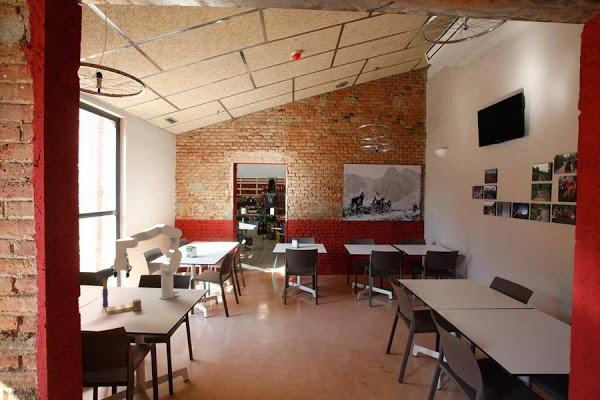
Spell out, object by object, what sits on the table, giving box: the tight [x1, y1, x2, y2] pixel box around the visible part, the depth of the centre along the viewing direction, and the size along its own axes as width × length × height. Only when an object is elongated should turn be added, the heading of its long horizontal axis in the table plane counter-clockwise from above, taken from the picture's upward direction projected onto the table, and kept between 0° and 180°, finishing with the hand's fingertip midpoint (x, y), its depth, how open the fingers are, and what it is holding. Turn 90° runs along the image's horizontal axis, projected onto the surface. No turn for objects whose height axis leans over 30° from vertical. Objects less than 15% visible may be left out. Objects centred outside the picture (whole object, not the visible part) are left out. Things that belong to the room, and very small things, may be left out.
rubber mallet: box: [94, 267, 114, 308], centre depth 255 cm, size 12×8×30 cm, turn 167°
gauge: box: [132, 298, 142, 313], centre depth 251 cm, size 5×14×8 cm, turn 36°
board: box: [105, 302, 133, 316], centre depth 249 cm, size 23×10×3 cm, turn 126°
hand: (121, 277), depth 249 cm, fingers open, 9 cm apart
